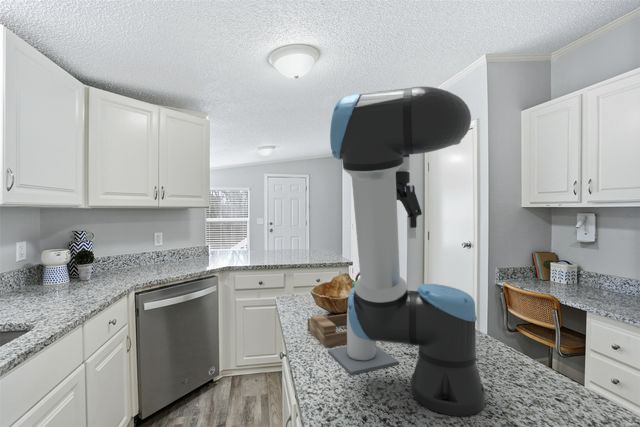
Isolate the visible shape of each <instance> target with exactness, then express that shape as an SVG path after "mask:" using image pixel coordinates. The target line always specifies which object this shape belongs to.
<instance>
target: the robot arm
mask: <svg viewBox="0 0 640 427" xmlns="http://www.w3.org/2000/svg"><path fill="white" fill-rule="evenodd" d="M331 116H332V117H331V119H330V129H329V130H330V131H329V132H330V133H329V134H330V135H329V139H330V140H329V142H330V143H329V144H330V148H331V153H332V156H333V158H335V159H336V160H339V161H340V160H341V161H342V169H343V171H345V172H346V173H347V174H348V175H349V176H350V177H351V185H352V196H353V206H354V207H353V208H354V209H353V210H354V219H355V220H354V221H355V231H356V241H357V253H358V254H357V255H358V256H357V257H358V264H359V265H358V267H359V278H358V279H357V280H355V281H356V283H355V287H354V288H351V289H350V290H349V294H348V298H347V301H348V308H349V310H348V316H349V322H350V326H351V329H352V331H353V333H354V334H355V335H356V336H357V337H359V338H361V339H366V340H370V341H376V342H382V343H383V342H384V343H392V344H394V343H395V344H401V345H409V346H417V347H418V356H417V357H418V358H417V360H416V363H415V367H414V371H413V373H412V375H411V377H410V394H411V396H412V398H414V400H415V401H416V402H417V403H419V404H420V405H421V406H423V407H424V408H426V409H428V410H431V411H433V412H436V413H439V414H443V415H448V416H455V417H463V416H465V417H466V416H472V415H476V414H478V413H480V412H481V411H483V409H484V408H485V406H486V392H485V388H484V386H483V384H482V379H481V377H480V373H479V370H478V367H477V363H476V362H477V361H476V359H477V358H476V356H477V354H476V353H477V352H476V351H477V348H476V339H477V338H476V321H477V319H478V317H477V315H476V302H475V300H474V298H473V297H472V296H471V295H470V294H469V293H468V292H465V291H463V290H462V289H460V288H456V287H452V286H448V285H444V284H443V285H442V284H439V283H421V284H419V285H418V287H417V290H408V284H407V281H406V280H405V279H404V278H403V277H401V275H400V250H399V245H400V244H399V228H398V227H399V224H398V223H399V221H398V205H397V204H398V202H397V201H399V202H401V204H402V205H403V207H404V209H405V211H406V213H407V217H406V229H407V230H406V237H407V239H409V240H411V239H416V238H417V231H416V230H417V224H418V222H417V219H418V218H417V217H419V216H422V214H423V212H422V210H421V206H420V203H419V200H418V198H417V194H416V189H415V185H414V184H411V185H409V184H410V176H411V174H410V172H409V170H410V155H420V154H426V153H427V154H428V153H432V152H434V151H439V150H442V149H446V148H448V147H452V146H457V145H460V144H461V142H462V140H463V139H464V138H465V136H466V135H467V134H468V132H469V129H470V127H471V124H472V122H471V121H472V113H471V110H470V108H469V106H468V105H467V103H466V102H465V101H464V100H463V99H462V98H461V97H460V96H458V95H457V94H454V93H453V92H451V91H448V90H446V89H445V90H444V89H441V88H438V87H433V86H412V87H407V88H399V89H398V88H397V89H390V90H389V89H387V90H381V91H380V90H379V91H372V92H371V91H370V92H360V93H355V94H350V95H346V96H343V97H341V98H339V100H338V101H337V102H336V104H335V106H334V108H333V112H332V115H331Z"/></svg>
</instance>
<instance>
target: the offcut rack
mask: <svg viewBox="0 0 640 427" xmlns="http://www.w3.org/2000/svg"><path fill="white" fill-rule="evenodd" d="M347 311H348V300H347V301H346V312H347ZM343 326H347V313H341V314H336V315H329V316H328V315H327V316H325V315H323V314H318V315H311V316H310V318H308V319H307V330H308V331H309V332H310V333H311V334H312V335H313V336H314V338H316V339H317V340H318V342H320V343H322V345H323V346H324V347H325V348H327V349H329V348H333V347H341V346H343V345H344V346H345V345H347V330H344V331H338V332H337V327H343Z"/></svg>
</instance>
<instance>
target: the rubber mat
mask: <svg viewBox="0 0 640 427" xmlns="http://www.w3.org/2000/svg"><path fill="white" fill-rule="evenodd" d="M327 353H328V354H329V356H330V357H332V358H333V359H334V360H335V362H337V363H338V365H340V366H341V367H342V369H344V370H345V371H346V372H347V373H348V374H349V375H350V376H355V375H359V374H362V373H367V372H371V371H376V370H380V369H384V368H388V367H394V366H399V364H400V363H399V362H400V361H399V360H397V359H396V358H395V357H393V356H391V355H390V354H389V353H387V351H385V350H383V349H382V348H381V347H379V346H377V345H376V354H375V357H374V358H372V359H370V360H364V361H361V360H355V359H352V358H350V357H349V356H348V354H347V345H346V346H345V345H344V346H342V347H341V346H339V347H336V348H330V349H329V348H328V349H327Z"/></svg>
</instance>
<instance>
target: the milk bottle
mask: <svg viewBox="0 0 640 427" xmlns="http://www.w3.org/2000/svg"><path fill="white" fill-rule="evenodd" d="M356 281H357V280H355V281H352V283H351V284H352V285H351V286H352V288H354V287H355V283H356ZM352 288H351V289H352ZM348 310H349V308H348ZM346 314H347V325H346V331H347V344H346V346H347V354H348V356H349V357H350V358H352V359H355V360H361V361H364V360H370V359H372V358H374V357H375V354H376V346H377V345H376V343H377V341H370V340H366V339H361V338H359V337H357V336H356V335H355V334H354V333H353V331H352V329H351V326H350V322H349V316H348V311H347V310H346Z"/></svg>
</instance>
